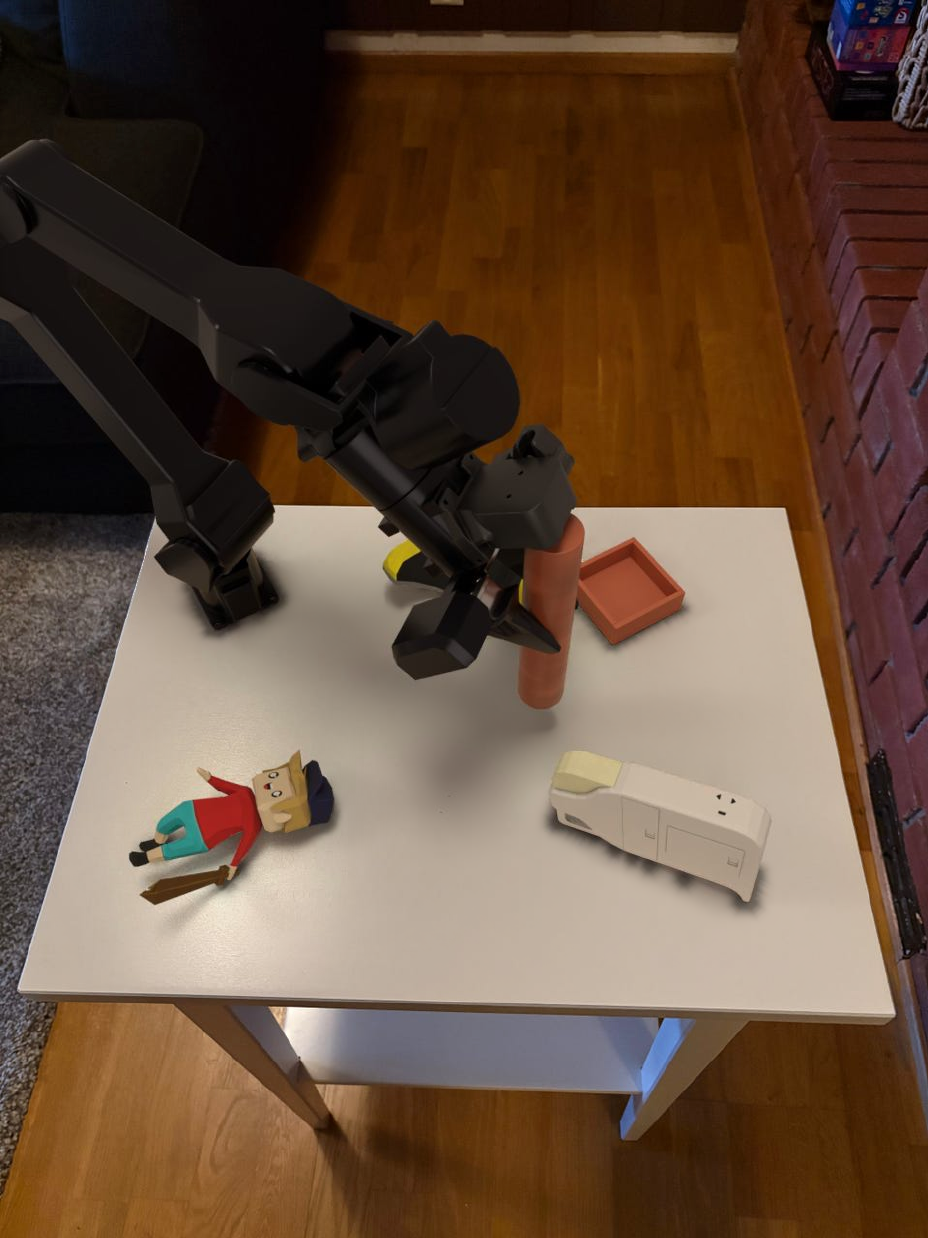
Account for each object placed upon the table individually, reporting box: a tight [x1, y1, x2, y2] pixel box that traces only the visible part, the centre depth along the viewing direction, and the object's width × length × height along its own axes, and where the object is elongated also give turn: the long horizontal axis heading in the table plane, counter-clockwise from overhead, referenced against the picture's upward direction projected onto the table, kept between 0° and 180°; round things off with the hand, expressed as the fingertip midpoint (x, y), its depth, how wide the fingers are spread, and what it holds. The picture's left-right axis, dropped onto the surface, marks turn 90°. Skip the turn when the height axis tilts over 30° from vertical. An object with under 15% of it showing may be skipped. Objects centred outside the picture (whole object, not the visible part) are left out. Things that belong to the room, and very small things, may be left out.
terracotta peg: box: [517, 513, 586, 711], centre depth 60 cm, size 4×4×19 cm
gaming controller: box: [381, 538, 523, 605], centre depth 78 cm, size 15×6×10 cm
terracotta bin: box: [577, 536, 686, 646], centre depth 78 cm, size 8×8×2 cm
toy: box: [128, 749, 335, 906], centre depth 64 cm, size 9×6×15 cm
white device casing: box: [548, 750, 772, 903], centre depth 62 cm, size 11×3×15 cm
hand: (565, 630), depth 60 cm, fingers closed on terracotta peg, 3 cm apart
